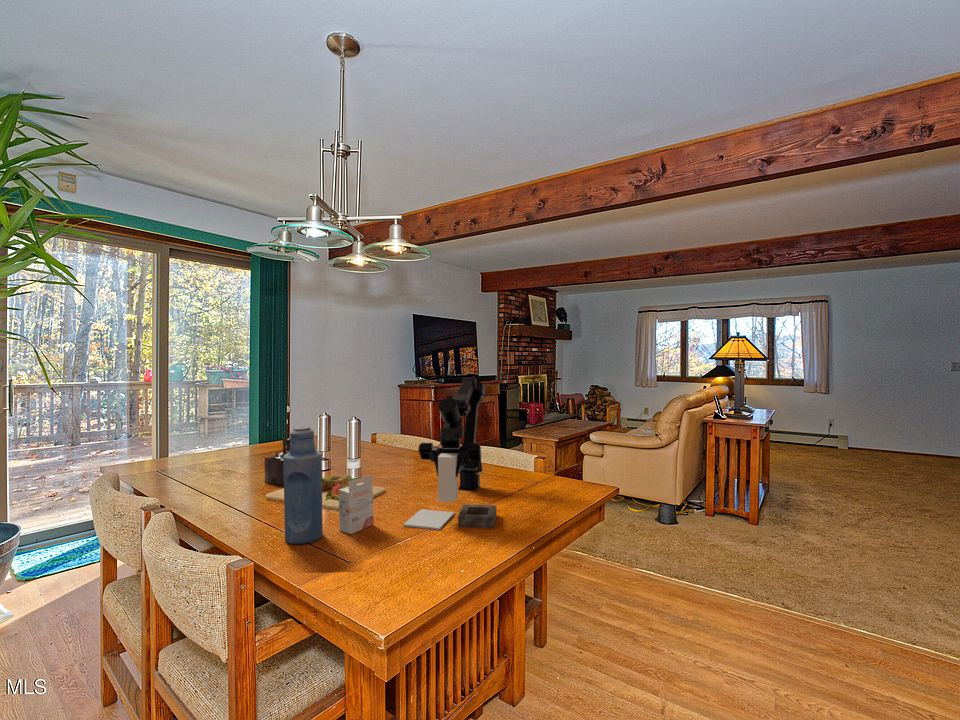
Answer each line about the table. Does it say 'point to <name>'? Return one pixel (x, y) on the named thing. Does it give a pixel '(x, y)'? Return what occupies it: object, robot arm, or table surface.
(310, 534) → the bottle
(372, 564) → the table surface
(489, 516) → the block
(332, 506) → the cutting board
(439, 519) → the rubber mat
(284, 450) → the black box
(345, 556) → the table surface
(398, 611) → the table surface
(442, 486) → the off-white block
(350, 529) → the ink cartridge box
